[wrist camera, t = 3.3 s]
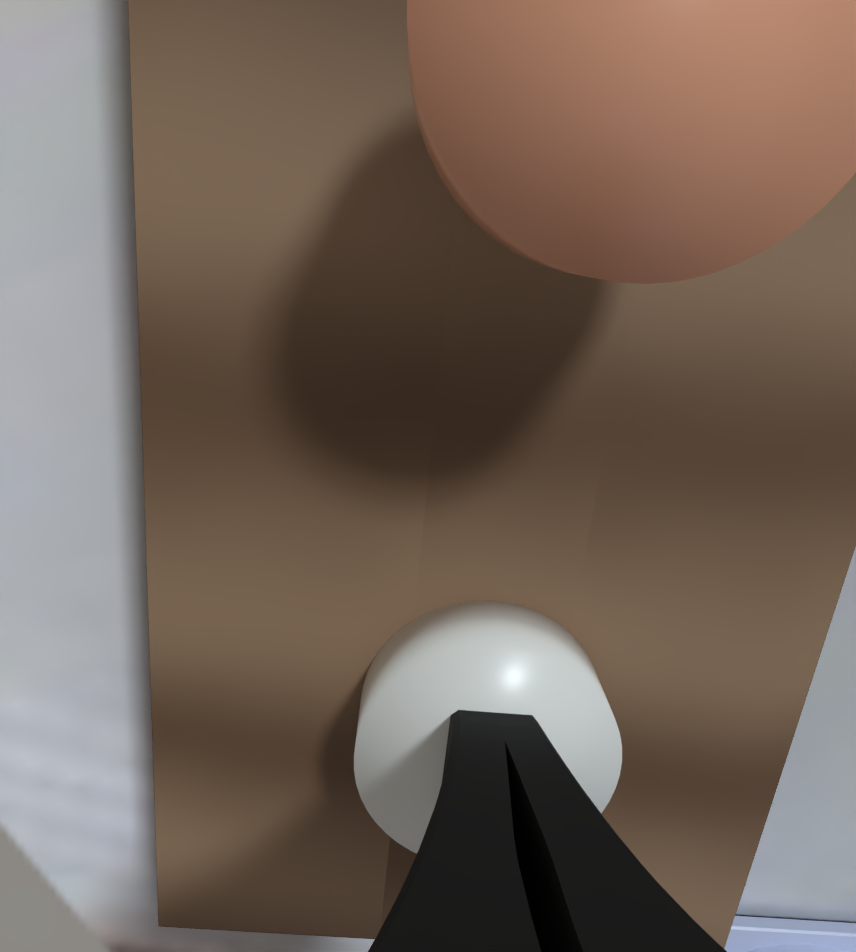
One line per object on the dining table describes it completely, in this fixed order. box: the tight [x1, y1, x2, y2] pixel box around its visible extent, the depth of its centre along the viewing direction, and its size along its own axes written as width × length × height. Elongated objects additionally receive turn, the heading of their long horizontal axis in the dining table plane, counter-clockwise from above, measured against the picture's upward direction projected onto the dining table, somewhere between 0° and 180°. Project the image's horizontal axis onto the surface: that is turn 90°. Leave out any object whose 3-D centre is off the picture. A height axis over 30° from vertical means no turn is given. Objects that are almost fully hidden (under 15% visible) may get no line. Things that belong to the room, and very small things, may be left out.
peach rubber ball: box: [407, 0, 856, 284], centre depth 8 cm, size 4×4×4 cm
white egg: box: [354, 601, 622, 853], centre depth 13 cm, size 4×4×4 cm
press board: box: [128, 0, 856, 948], centre depth 13 cm, size 22×12×3 cm, turn 174°
